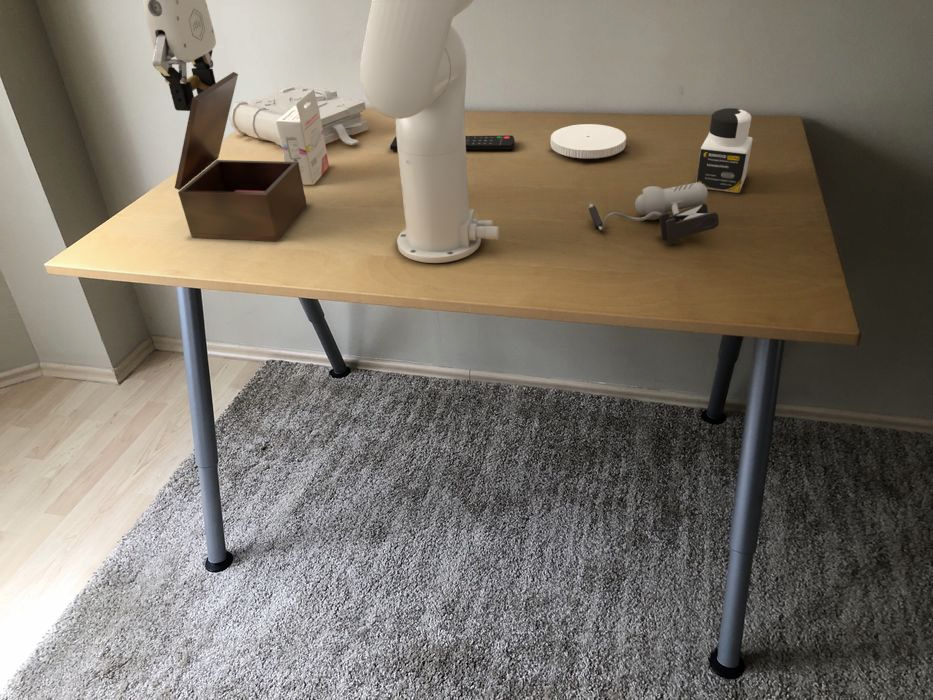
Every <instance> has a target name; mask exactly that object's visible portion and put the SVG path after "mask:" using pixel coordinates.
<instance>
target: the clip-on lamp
mask: <svg viewBox="0 0 933 700" xmlns="http://www.w3.org/2000/svg"><path fill="white" fill-rule="evenodd" d="M641 191H642V193H641V194H640V195H638V196H637V198H636V199H635V202H634V207H635V210H636V212H637V213H638V214H639V215H641V216H642V217H634V216H631V215H626V214H623V213H621V212H610V213H608V214H606V216H605V217H604V219H603V221H602V219H601V216H600V214H599V210H598V208H597V207H596V205H594V204H593V203H589V208H588V211H589V214H590V216H591V219H592V221H593V225H594V227H595V228H596V229H599V230H600V231H601V232H603V231H605V229H606V223H607V220H608V218H610V217H611V216H617V217H620V218H623V219H625V220H631V221H637V222H641V221H646V220H648V221H656V220H659V226H660V227H659V228H660V233H661V238H662V239H663V240H664V241H665V240H667V243H668V244H669V246H674V245H677V244H678V243H679V239H681V238H684V237H689V236H692V235H696V234H700V233H703V232H707V231H710V230H714V229H716V228H718V226H719V223H720V222H719V215H718V213H717V212H716V211H711V212H709V211H708V205H707V204H706V203H705V202H706V201H707V199H708V196H709V193H708V192H709V191H708V189H707V188H706V187H705V185H703V184H702V183H699V182H697V183H696V182H692V183H688V184H681V185H677V186H672V187H666V188H662V187H660V186H656V185H651V186H646V187H644V188H643V189H642V190H641ZM682 209H684V210H682ZM680 210H681V211H680ZM668 212H669V213H670V212H672V215H669V213H668Z"/></svg>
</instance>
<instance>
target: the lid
mask: <svg viewBox="0 0 933 700" xmlns="http://www.w3.org/2000/svg"><path fill="white" fill-rule="evenodd" d="M238 76H239V73H237V72H235V71H233V72H231V73H229V74H228V75H226V76H225V77H223V78H221V79H220V80H218V81H217V82H216V83H215V84H214V85H212V86H211V87H210V86H208V85H206V84H204V83H202V82H201V79H200V78H199V77H198V76H196V75H193V74H192V75H190V76H189V77H187V82H191V87H192V91H193V92H194V91H196V89H197V88H200V89H202V90H204V91H203V92H201V93H200V94H197V95H194V97H193V99H192V104H191V109H190V111H189V114H188V118H187V123H186V128H185V133H184V139H183V145H182V149H181V153H180V159H179V163H178V168H177V174H176V180H175V184H174V189H176V190H178V191H180V190H181V189H182V188H184V187H185V186H186V185H187V184H188V183H190V182H191V181H192V180H193V179H195V178H196V177H197V176H198V175H199V174H201V173H202V172H203V171H204V170H205V169H207V168H208V167H209V166H210V165H211V164H213V163H214V162H215V161H216V160H219V157H220V153H221V149H222V144H223V141H224V136H225V131H226V128H227V124H228V119H229V116H230V112H231V108H232V107H231V106H232V103H233V99H234V98H233V97H234V93H235V89H236V86H237V81H238ZM169 91H170V90H169ZM170 93H171V91H170Z"/></svg>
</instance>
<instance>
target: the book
mask: <svg viewBox="0 0 933 700" xmlns="http://www.w3.org/2000/svg"><path fill="white" fill-rule="evenodd" d="M312 90H314V92H315V96H316V99H317V103H318V106H319V111H320V117H321V123H322V129H323V134H324V140H325V145H327V144H329V143H332V142H334V141H338V140H340V141H341V142H343V144H346V145H350V146H353V145H357V144H358V143H360V141H359V140H358V139H354V138H351V137H350V136H354V135H357V134H360V133H362V132H365V131H367V130H369V125H368V121H367V120H365V119H362V117H363V115H361V113H362V112H364V111H365V110H366V102H365V101H363V100H360V99H356V98H355V99H354V98H344V97H341V96H338V93H337V92H338V91H336V90H333V89H328V88H325V87H320V86H314V87H310V88H308V87H305V86H301V85H296V84H295V85H291V86H288V87H285V88H282V89H280V90H278V92H275V93H272V94H270V95H266V96H263V97H260V98H257V99H255V100H251V101H243V100H242V101H237V102H235V103H234V104H233V106H232V107H230V112H229V121H230V125H231V127H232V128H233V130H235V132H236V133H238V134H242V135H245V136H249V137H252V138H255V139H259V140H262V141H268V142H269V141H270V142H273V143H275V145H277V146H281V142H280V138H279V133H278V129H277V124H276V121H277V120H278V119H279V118H280V117H282V116H283V115H284V114H285V113H287V112H288V111H289V110H290V109H291V108H292V107H294V106H296V103H297V102H298V101H300V100H301V99H302V98H303V97H304V96H305V95H307V94H308V93H309V92H310V91H312ZM309 104H310V101H308V102H307V101H306V104H304V106H308V105H309Z"/></svg>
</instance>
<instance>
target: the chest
mask: <svg viewBox="0 0 933 700" xmlns="http://www.w3.org/2000/svg"><path fill="white" fill-rule="evenodd" d="M236 190H251V191H265V192H264V193H255V192H234V191H236ZM177 193H178V194H177V195H178V197H179V200H180V203H181V204H180V205H181V208H182V210H183V213H184V217H185V220H186V223H187V227H188V230H189V234H190V236H191V238H195V239H215V240H217V239H218V240H236V241H237V240H238V241H257V242H258V241H261V242H278V241H279V240H280V238H281V237H282V236H283V235H284V233H285V232H287V230H288V229H289V227H290V226H291V225H292V224H293V223H294V222H295V221H296V219H297V218H298V217H299V216H300V215H301V214H302V212H303V211H304V210H305V208H306V207H307V205H308V203H307V199H306V193H305V189H304V185H303V183H302V178H301V173H300V167H299V162H285V161H278V160H277V161H273V160H272V161H271V160H238V159H237V160H233V159H217V160H215V161H214V162H213V163H212V164H211V165H209V166H208V167H207V168H206V169H205V170H203V171H202V172H201V173H200V174H198V175H197V176H196V177H195V178H194V179H192V180H191V181H190V182H189V183H188V184H186V185H185V186H184V187H183V188H181V189H180V190H178V192H177Z"/></svg>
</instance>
